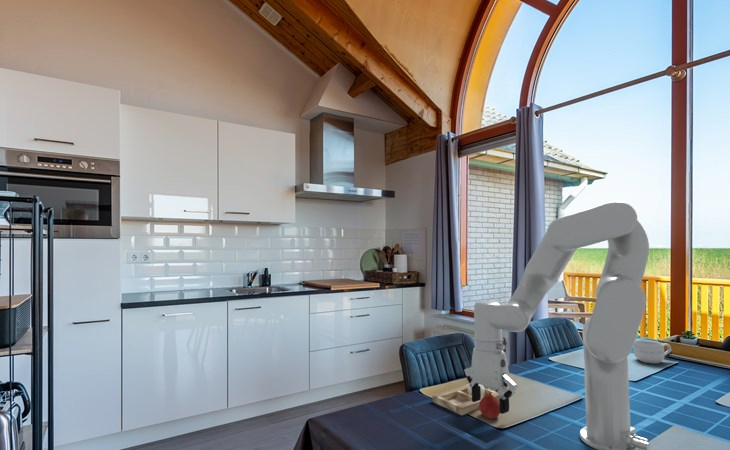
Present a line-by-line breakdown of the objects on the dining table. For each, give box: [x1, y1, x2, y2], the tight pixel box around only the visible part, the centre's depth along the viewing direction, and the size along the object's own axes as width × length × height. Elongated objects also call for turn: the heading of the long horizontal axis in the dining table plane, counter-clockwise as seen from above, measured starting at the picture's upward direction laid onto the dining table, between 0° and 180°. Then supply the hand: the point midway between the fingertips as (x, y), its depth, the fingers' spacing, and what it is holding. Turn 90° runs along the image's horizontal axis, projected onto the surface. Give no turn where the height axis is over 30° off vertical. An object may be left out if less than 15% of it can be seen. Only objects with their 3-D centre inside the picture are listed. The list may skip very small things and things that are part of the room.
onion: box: [479, 392, 501, 420], centre depth 112 cm, size 6×6×8 cm
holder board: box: [432, 383, 501, 416], centre depth 123 cm, size 12×18×3 cm, turn 124°
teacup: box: [632, 340, 672, 364], centre depth 165 cm, size 14×11×8 cm
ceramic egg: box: [468, 384, 485, 397], centre depth 125 cm, size 5×5×5 cm
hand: (489, 406), depth 112 cm, fingers open, 9 cm apart
